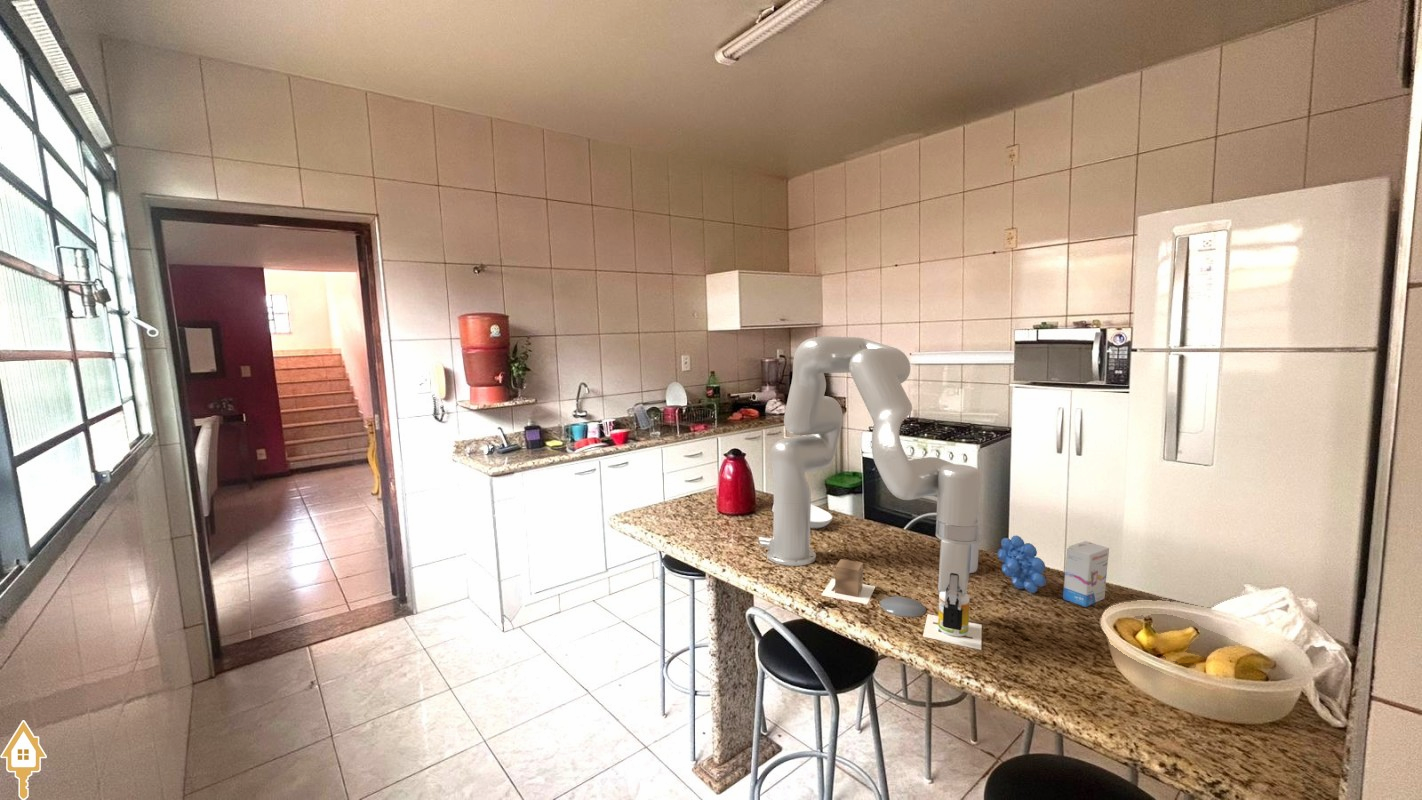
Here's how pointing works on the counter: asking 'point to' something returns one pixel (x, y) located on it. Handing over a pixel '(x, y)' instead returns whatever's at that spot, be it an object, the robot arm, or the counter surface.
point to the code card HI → (862, 597)
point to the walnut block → (848, 577)
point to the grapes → (1022, 564)
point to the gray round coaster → (903, 606)
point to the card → (968, 640)
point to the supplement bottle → (965, 615)
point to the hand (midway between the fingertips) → (953, 616)
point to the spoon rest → (818, 517)
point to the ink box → (1085, 573)
